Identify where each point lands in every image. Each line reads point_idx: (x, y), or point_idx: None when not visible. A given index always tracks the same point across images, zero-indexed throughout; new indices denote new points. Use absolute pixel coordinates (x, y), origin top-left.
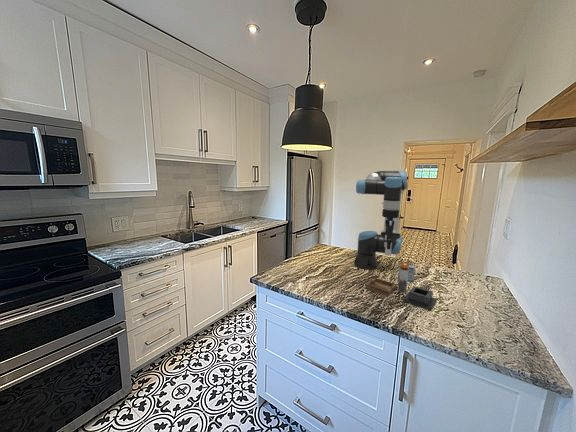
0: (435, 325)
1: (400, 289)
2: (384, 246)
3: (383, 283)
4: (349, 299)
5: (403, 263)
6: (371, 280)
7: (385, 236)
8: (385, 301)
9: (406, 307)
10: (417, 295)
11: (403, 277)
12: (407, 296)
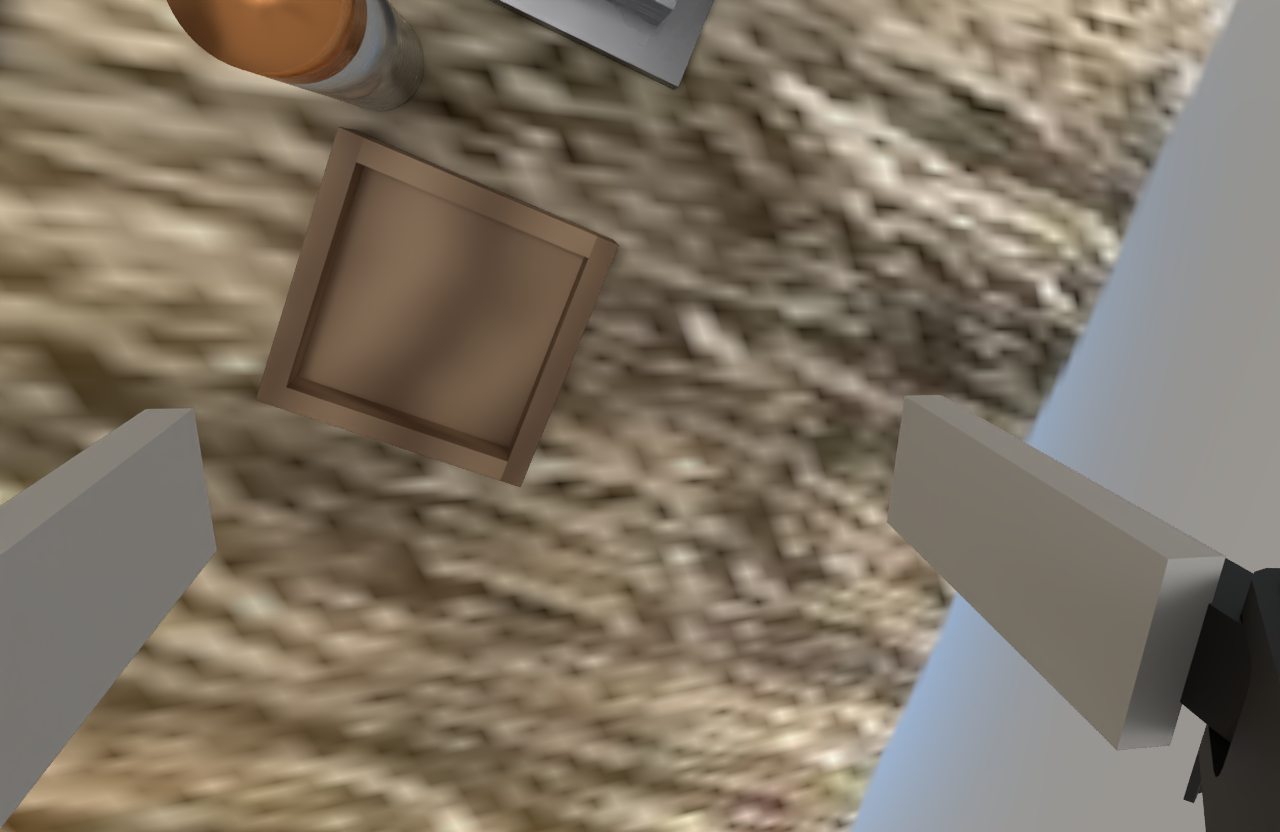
0: None
1: (414, 85)
2: (209, 552)
3: (323, 288)
4: (789, 573)
5: (265, 12)
6: (372, 436)
7: (21, 784)
8: (728, 271)
9: (789, 68)
10: None
11: (390, 39)
12: (589, 23)
